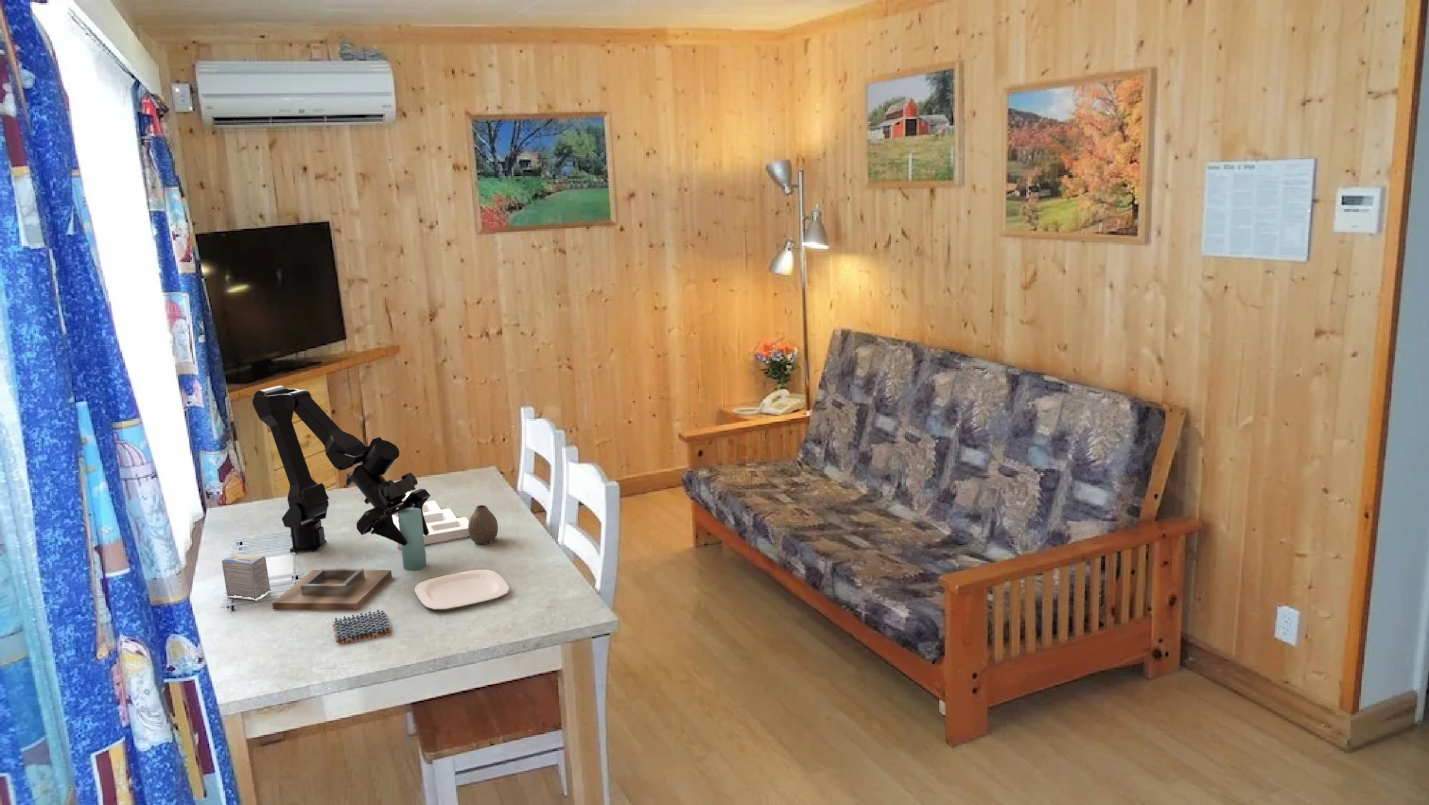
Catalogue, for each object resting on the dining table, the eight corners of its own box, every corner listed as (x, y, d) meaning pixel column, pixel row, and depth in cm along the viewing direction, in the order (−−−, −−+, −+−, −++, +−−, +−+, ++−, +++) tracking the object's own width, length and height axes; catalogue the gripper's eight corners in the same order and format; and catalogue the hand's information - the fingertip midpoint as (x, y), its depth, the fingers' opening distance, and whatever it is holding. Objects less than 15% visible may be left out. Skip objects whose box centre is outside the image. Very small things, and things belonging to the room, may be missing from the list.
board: (273, 609, 216) (270, 593, 215) (313, 576, 234) (311, 561, 233) (357, 610, 214) (355, 594, 214) (391, 576, 232) (390, 561, 231)
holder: (373, 500, 289) (372, 490, 288) (440, 489, 296) (439, 480, 296) (398, 551, 249) (397, 540, 248) (474, 537, 256) (473, 527, 255)
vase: (492, 547, 248) (489, 511, 246) (464, 546, 249) (461, 510, 247) (503, 537, 254) (500, 502, 252) (476, 536, 256) (473, 501, 254)
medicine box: (271, 593, 225) (266, 555, 223) (256, 602, 221) (251, 563, 219) (242, 590, 227) (236, 552, 225) (226, 598, 223) (220, 559, 221)
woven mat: (336, 648, 198) (335, 638, 198) (332, 627, 208) (331, 617, 208) (393, 637, 202) (392, 627, 202) (387, 617, 212) (386, 607, 212)
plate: (429, 620, 209) (428, 612, 209) (409, 589, 225) (408, 582, 225) (517, 600, 217) (516, 592, 217) (492, 572, 233) (491, 565, 233)
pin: (400, 570, 235) (394, 515, 232) (408, 562, 240) (402, 507, 237) (421, 570, 235) (416, 515, 232) (429, 562, 240) (424, 507, 237)
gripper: (360, 476, 226) (404, 531, 223) (420, 454, 242) (462, 505, 240) (337, 507, 231) (380, 561, 229) (397, 483, 247) (438, 534, 245)
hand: (417, 539), depth 235 cm, fingers open, 7 cm apart
